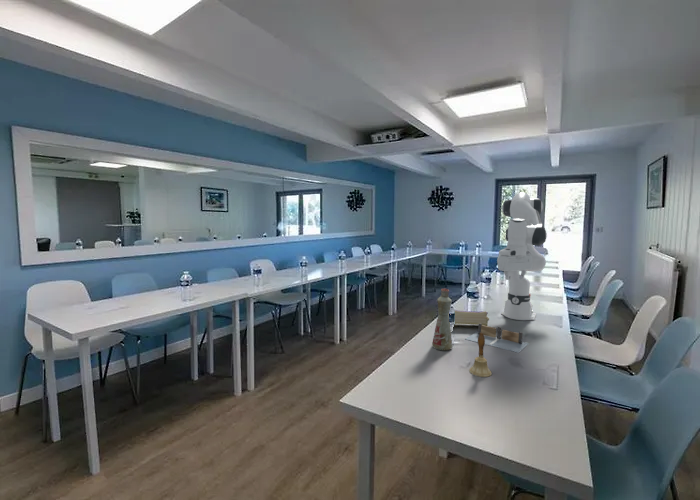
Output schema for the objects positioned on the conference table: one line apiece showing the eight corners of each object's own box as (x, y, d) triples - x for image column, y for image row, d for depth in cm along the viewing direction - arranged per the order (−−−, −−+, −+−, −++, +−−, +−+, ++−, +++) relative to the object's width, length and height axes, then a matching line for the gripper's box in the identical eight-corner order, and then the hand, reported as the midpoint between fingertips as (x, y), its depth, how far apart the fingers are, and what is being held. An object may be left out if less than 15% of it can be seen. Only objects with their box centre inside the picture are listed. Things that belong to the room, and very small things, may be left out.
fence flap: (501, 339, 176) (501, 328, 176) (502, 338, 178) (502, 328, 177) (521, 344, 170) (522, 333, 170) (522, 343, 172) (523, 332, 171)
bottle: (453, 352, 161) (455, 290, 158) (432, 350, 162) (434, 289, 159) (451, 345, 169) (454, 286, 166) (431, 343, 171) (433, 285, 168)
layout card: (477, 331, 188) (477, 331, 188) (528, 343, 172) (528, 343, 172) (465, 339, 177) (465, 338, 177) (518, 352, 161) (518, 352, 161)
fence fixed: (478, 333, 186) (479, 322, 185) (501, 338, 178) (501, 327, 178) (477, 334, 184) (478, 323, 184) (499, 339, 177) (500, 327, 176)
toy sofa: (484, 325, 200) (485, 307, 199) (488, 330, 192) (489, 311, 191) (445, 323, 202) (446, 306, 201) (448, 328, 194) (449, 310, 193)
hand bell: (477, 378, 136) (479, 337, 134) (464, 369, 144) (466, 330, 142) (496, 375, 138) (498, 335, 136) (482, 366, 146) (484, 328, 144)
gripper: (525, 250, 185) (524, 277, 186) (496, 251, 177) (494, 279, 178) (536, 251, 179) (535, 279, 180) (506, 252, 171) (504, 281, 172)
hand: (514, 279), depth 179 cm, fingers open, 8 cm apart
